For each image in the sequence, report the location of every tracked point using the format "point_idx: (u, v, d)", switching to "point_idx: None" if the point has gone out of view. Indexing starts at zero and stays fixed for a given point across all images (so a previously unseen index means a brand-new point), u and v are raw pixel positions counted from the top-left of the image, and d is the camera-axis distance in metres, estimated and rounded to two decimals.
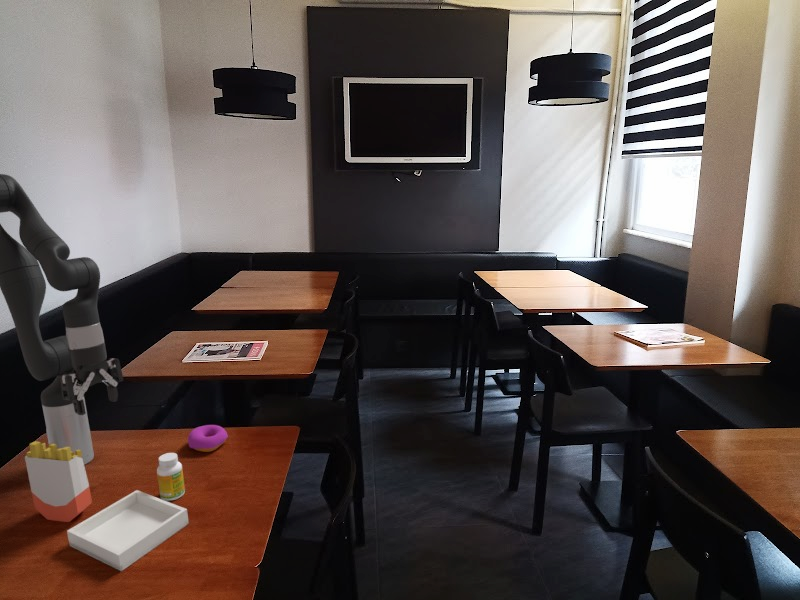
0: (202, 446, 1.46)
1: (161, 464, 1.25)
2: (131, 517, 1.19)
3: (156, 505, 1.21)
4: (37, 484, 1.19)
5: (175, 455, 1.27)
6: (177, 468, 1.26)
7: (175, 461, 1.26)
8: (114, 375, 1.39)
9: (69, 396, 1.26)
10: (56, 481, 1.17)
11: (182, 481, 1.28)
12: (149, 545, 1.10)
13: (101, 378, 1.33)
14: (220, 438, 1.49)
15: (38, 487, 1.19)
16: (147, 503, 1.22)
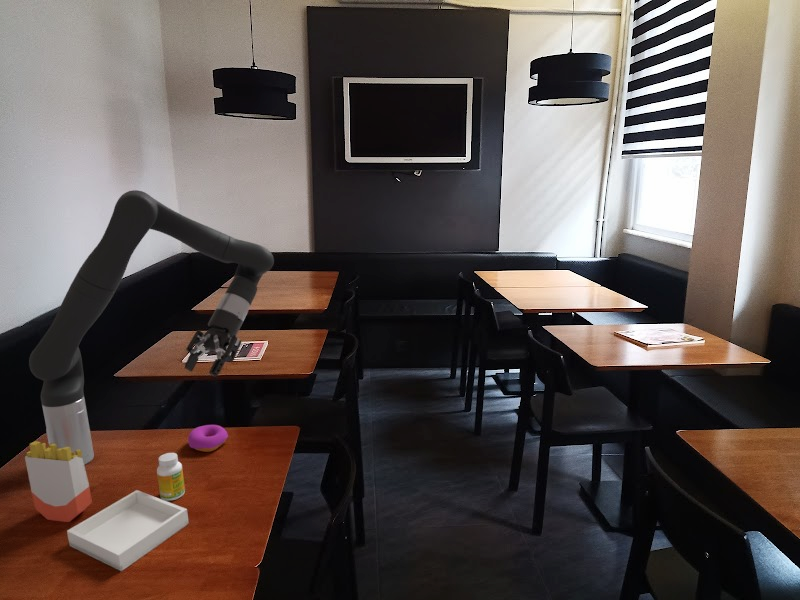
0: (202, 446, 1.46)
1: (161, 464, 1.25)
2: (131, 517, 1.19)
3: (156, 505, 1.21)
4: (37, 484, 1.19)
5: (175, 455, 1.27)
6: (177, 468, 1.26)
7: (175, 461, 1.26)
8: None
9: (233, 357, 1.35)
10: (56, 481, 1.17)
11: (182, 481, 1.28)
12: (149, 545, 1.10)
13: None
14: (220, 438, 1.49)
15: (38, 487, 1.19)
16: (147, 503, 1.22)
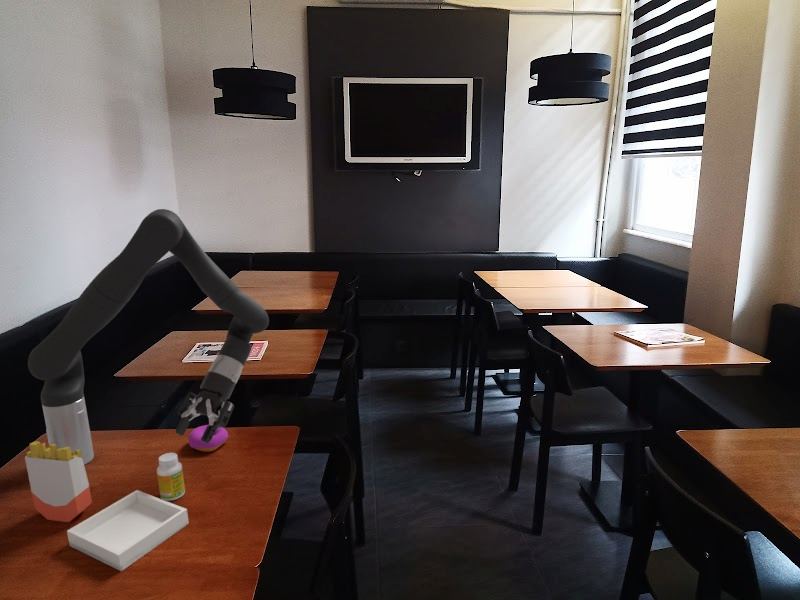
0: (203, 446, 1.46)
1: (161, 464, 1.25)
2: (131, 517, 1.19)
3: (156, 505, 1.21)
4: (37, 484, 1.19)
5: (175, 455, 1.27)
6: (177, 468, 1.26)
7: (175, 461, 1.26)
8: None
9: (226, 423, 1.32)
10: (56, 481, 1.17)
11: (182, 481, 1.28)
12: (149, 545, 1.10)
13: None
14: (220, 438, 1.49)
15: (38, 488, 1.19)
16: (147, 503, 1.22)
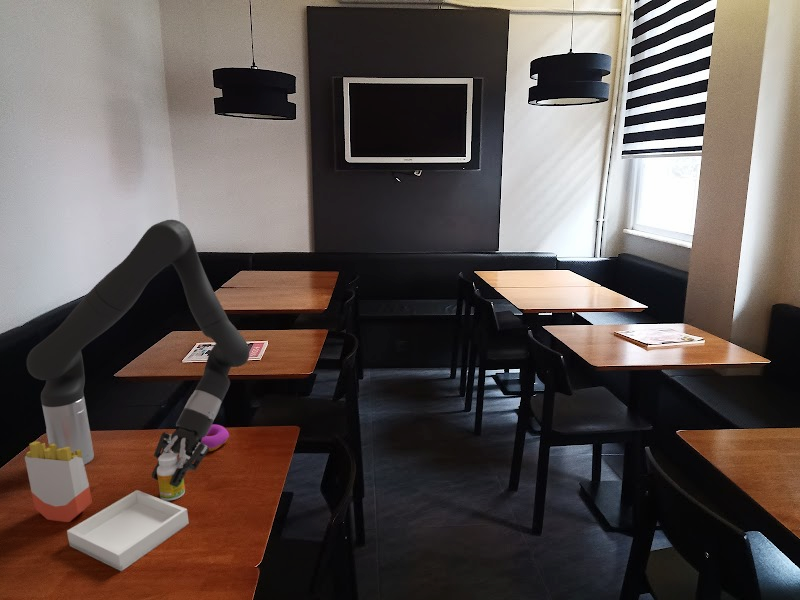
0: None
1: (161, 464, 1.25)
2: (131, 517, 1.19)
3: (156, 505, 1.21)
4: (37, 484, 1.19)
5: (175, 455, 1.27)
6: None
7: (175, 461, 1.26)
8: None
9: (196, 466, 1.27)
10: (56, 481, 1.17)
11: (182, 481, 1.28)
12: (149, 545, 1.10)
13: None
14: (221, 438, 1.49)
15: (38, 488, 1.19)
16: (147, 503, 1.22)
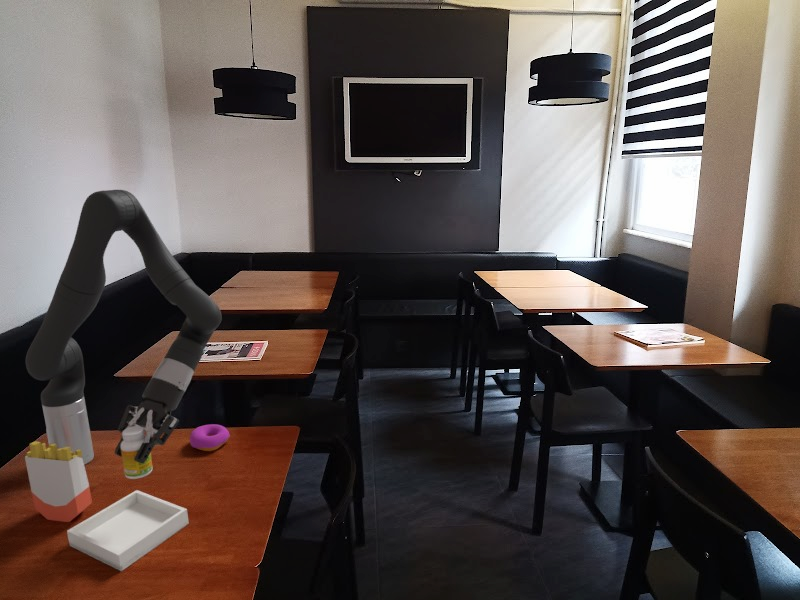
0: (204, 445, 1.47)
1: (125, 438, 1.13)
2: (131, 517, 1.19)
3: (156, 505, 1.21)
4: (37, 484, 1.19)
5: (141, 428, 1.15)
6: None
7: (141, 435, 1.14)
8: None
9: (165, 441, 1.14)
10: (56, 481, 1.17)
11: (149, 457, 1.15)
12: (149, 545, 1.10)
13: None
14: (222, 438, 1.50)
15: (38, 487, 1.19)
16: (147, 503, 1.22)
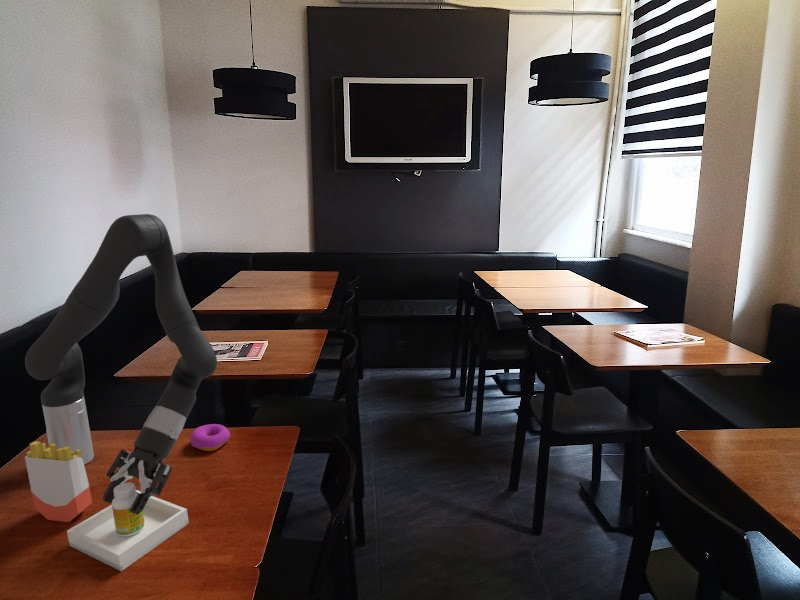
0: (205, 445, 1.47)
1: (116, 496, 1.11)
2: None
3: (156, 505, 1.21)
4: (37, 484, 1.19)
5: (132, 485, 1.13)
6: None
7: (132, 492, 1.12)
8: None
9: (161, 490, 1.12)
10: (56, 481, 1.17)
11: (141, 514, 1.14)
12: (149, 545, 1.10)
13: None
14: (222, 438, 1.50)
15: (38, 487, 1.19)
16: (147, 503, 1.22)
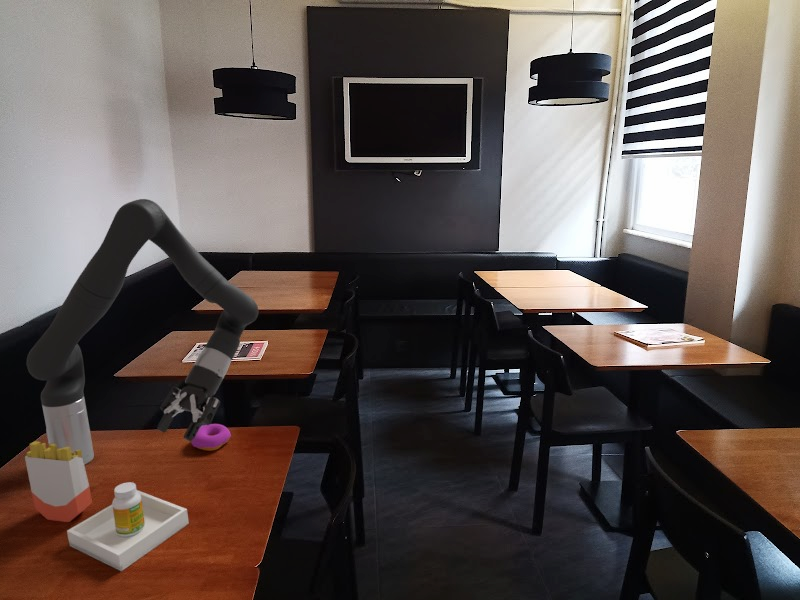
0: (205, 445, 1.47)
1: (117, 496, 1.11)
2: None
3: (156, 505, 1.21)
4: (37, 484, 1.19)
5: (133, 485, 1.13)
6: (136, 500, 1.13)
7: (133, 492, 1.12)
8: None
9: (211, 420, 1.25)
10: (56, 481, 1.17)
11: (141, 514, 1.14)
12: (149, 545, 1.10)
13: None
14: (223, 437, 1.50)
15: (38, 487, 1.19)
16: (147, 503, 1.22)
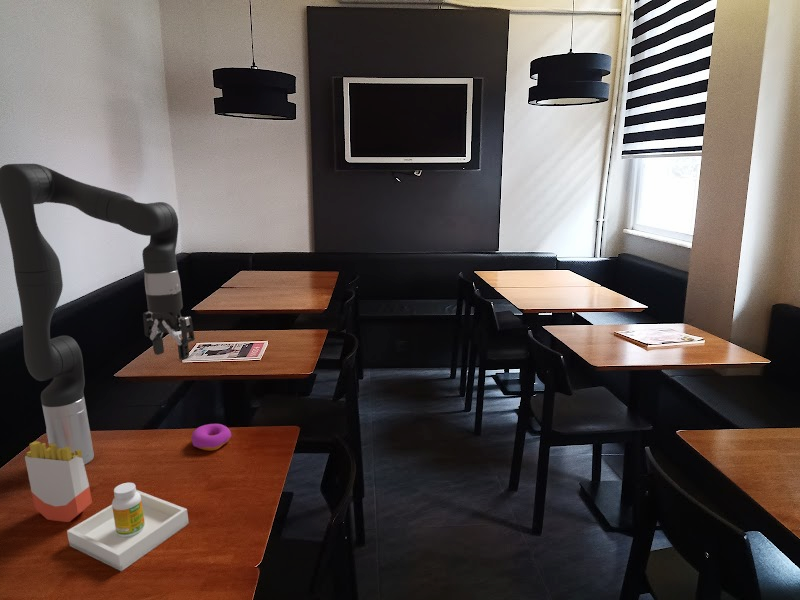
0: (206, 445, 1.47)
1: (117, 496, 1.11)
2: None
3: (156, 505, 1.21)
4: (37, 484, 1.19)
5: (133, 485, 1.13)
6: (136, 500, 1.12)
7: (133, 492, 1.12)
8: None
9: (193, 336, 1.29)
10: (56, 481, 1.17)
11: (141, 514, 1.14)
12: (149, 545, 1.10)
13: None
14: (223, 437, 1.50)
15: (38, 487, 1.19)
16: (147, 503, 1.22)
